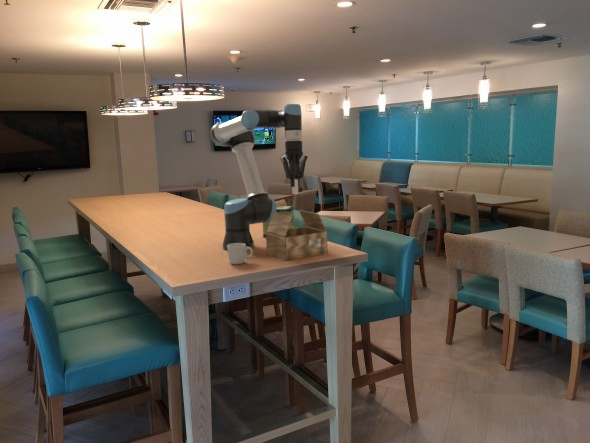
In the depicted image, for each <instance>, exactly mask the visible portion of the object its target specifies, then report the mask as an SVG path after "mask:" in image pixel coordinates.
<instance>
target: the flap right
mask: <svg viewBox="0 0 590 443" xmlns="http://www.w3.org/2000/svg"><path fill="white" fill-rule="evenodd" d="M298 212H299V214H300V216H301V218H302V221H303V222H304V225H305V227H311V228H315V229H319V230H323V231H326V232H327V229H326V227H325V224H324V223H323V220H322V218H321V216H320V214H319V213H317V212H313V211H306V210H303V209H298Z"/></svg>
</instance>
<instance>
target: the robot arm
mask: <svg viewBox="0 0 590 443" xmlns="http://www.w3.org/2000/svg"><path fill="white" fill-rule="evenodd" d="M302 121H303V119H302V108H301V105H300V104H299V103H288V104H287V103H286V104H284V106H283V110H282V109H281V110H259V109H258V110H255V109H249V110H247V109H246V110H244V111H243V112H242V113H241V115H240V116H237V117H235V118H233V119H230V120H228V121H226V122H222V121H221V122H217V123H216V124H214V125H213V126H212V127H211V129H210V132H209V134H210V135H209V136H210V138H211V141H212V142H213V143H214V144H216V145H218V146H221V147H230V149H231V152H232V153H234V154H235V155H236V159H237V160H236V161H237V163H238V168H239V170H240V174H241V176H242V180H243V181H242V182H243V185H244V188H245V191H246V194H247V197H246V198H235V199H231V200H229V201H226V202H225V203H224V205H223V207H224V211H223V213H224V227H225V234H224V237H223V241H222V249H223V250H226V251H228V250H227V245H228V244H232V243H244V244H246V246H247V247H251V248H252V249H253V248H254V246H255V245H254V244H255V242H254V239H253V237H252V234H251V231H250V230H251V229H250V225H255V224H263V223H266V222H269V221H271V218H272V215H273V213H276V211H277V207H278V206H277V204H276V200H274V198H272V197H271V198H270V196H269V194H268V192H266V191H265V189H264V187H263V184H262V179H261V176H260V173H259V170H258V166H257V162H256V159H255V156H254V152H253V147H254V145H255V142H256V131H255V129H262V128H263V129H269V128H270V129H272V128H273V129H281V128H284V140H285V141H284V146H285V147H284V148H285V153H284V155H283V156H281V157H280V162H282V165H283V170H284V173H285V177H286V179H288V180H289V181H290V188H291V189H292V190H291V193H292V195H299V187H300V180H301V179H302V178H304V174H305V167H306V163H307V160H308V158H309V157H308V155H305V154H304V153H303V141H302V140H303V134H302V133H303V131H302V129H303V126H302V123H303V122H302Z"/></svg>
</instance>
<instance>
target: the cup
mask: <svg viewBox="0 0 590 443" xmlns="http://www.w3.org/2000/svg"><path fill="white" fill-rule="evenodd" d="M248 250H249V251H250V254H249V255H248V254H247V251H248ZM226 251H227V254H228V255H227V256H228V261H229V263H230V264H231V265H241V264H244V263H245V262H246V259H249V258H251V257H252V256H253V255H254V254H253V253H254V250H253V248H251V247H247V246H246V244H244V243H232V244H228V245H227V250H226Z"/></svg>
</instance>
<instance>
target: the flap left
mask: <svg viewBox="0 0 590 443" xmlns="http://www.w3.org/2000/svg"><path fill="white" fill-rule="evenodd" d="M291 220H292V217H289V216H285V215H281V214H276V213H273V215H272V218H271V221H270V224H269V227H268V229H267V231H268V232H272V233H275V234H278V235H281V236H285V237H286V234H287V231H288V228H289V225H290V223H291Z"/></svg>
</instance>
